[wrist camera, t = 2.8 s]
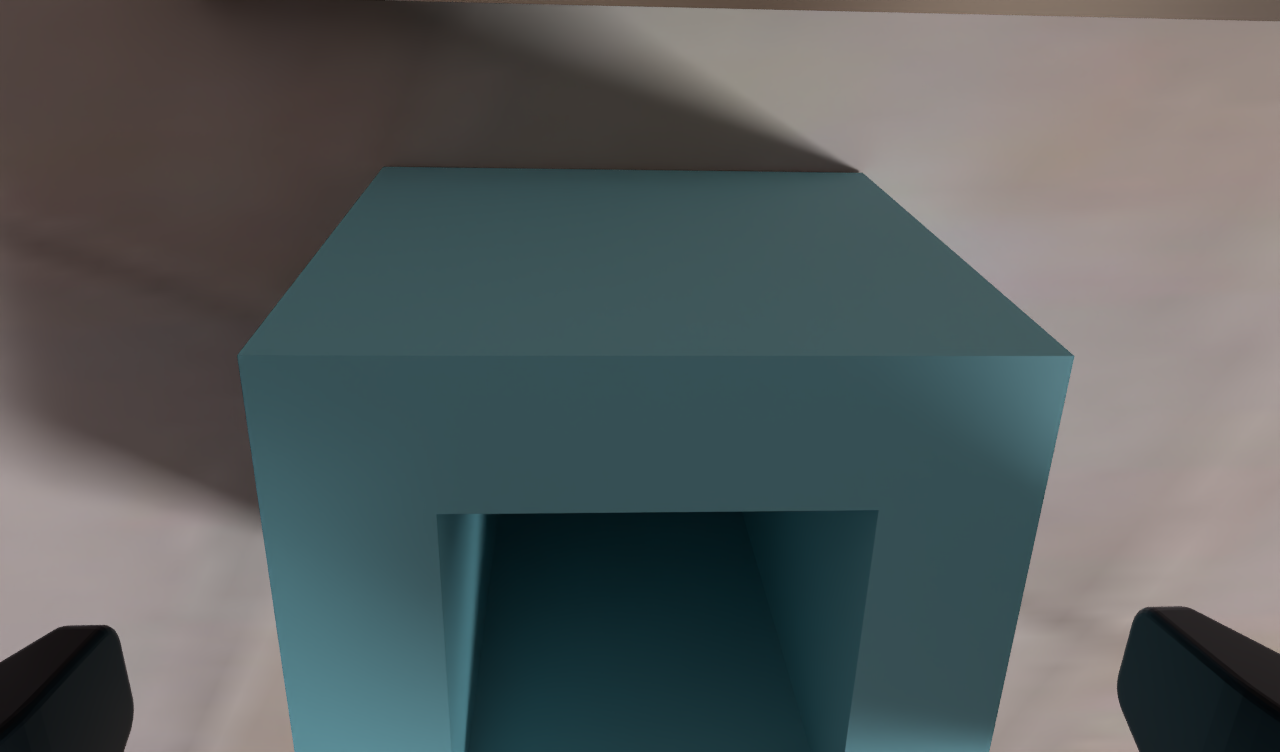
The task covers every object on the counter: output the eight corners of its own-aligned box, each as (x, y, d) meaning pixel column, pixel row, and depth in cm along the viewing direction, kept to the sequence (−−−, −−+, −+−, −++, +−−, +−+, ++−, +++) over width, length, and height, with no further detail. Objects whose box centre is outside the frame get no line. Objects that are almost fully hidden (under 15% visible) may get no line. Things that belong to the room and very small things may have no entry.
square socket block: (414, 574, 15) (323, 948, 10) (383, 166, 13) (237, 354, 7) (817, 568, 15) (951, 924, 10) (862, 172, 13) (1075, 355, 7)
